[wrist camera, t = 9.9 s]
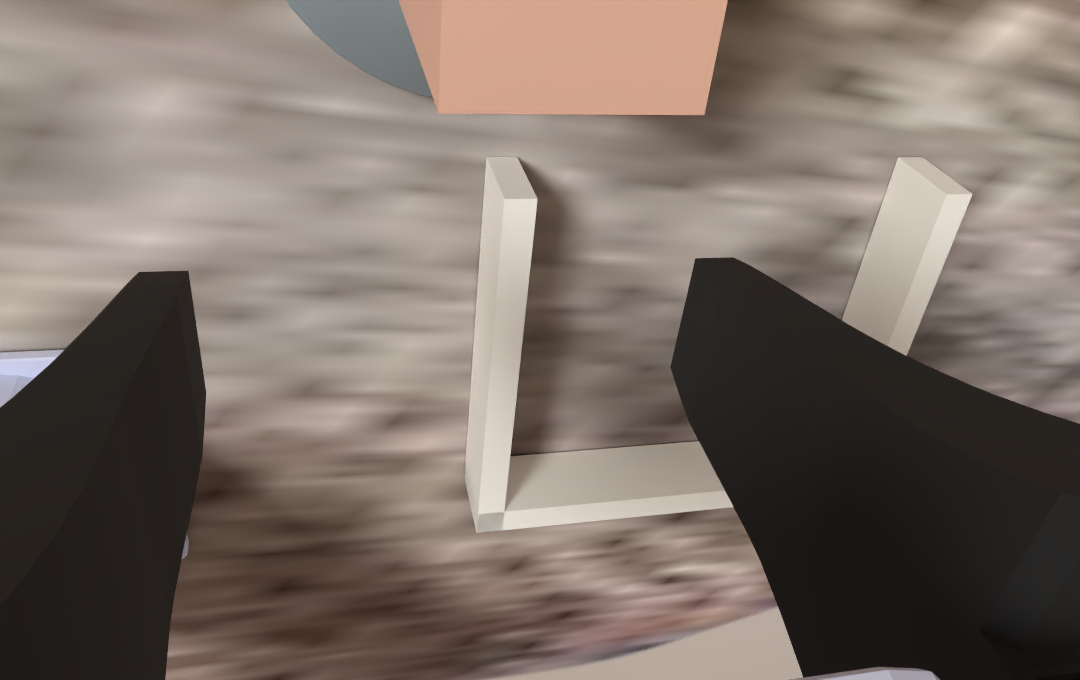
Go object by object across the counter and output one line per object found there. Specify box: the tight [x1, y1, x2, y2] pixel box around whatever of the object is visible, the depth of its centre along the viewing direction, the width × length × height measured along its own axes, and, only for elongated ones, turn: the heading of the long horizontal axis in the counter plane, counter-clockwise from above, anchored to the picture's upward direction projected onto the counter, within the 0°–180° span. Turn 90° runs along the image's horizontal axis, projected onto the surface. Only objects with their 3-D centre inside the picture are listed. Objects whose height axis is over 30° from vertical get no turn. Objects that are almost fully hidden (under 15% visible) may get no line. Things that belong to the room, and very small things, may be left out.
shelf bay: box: [465, 157, 972, 533], centre depth 27 cm, size 13×11×2 cm
